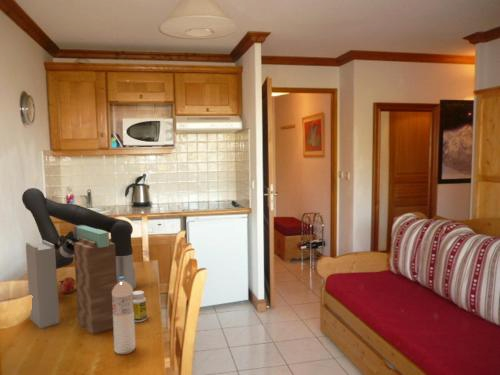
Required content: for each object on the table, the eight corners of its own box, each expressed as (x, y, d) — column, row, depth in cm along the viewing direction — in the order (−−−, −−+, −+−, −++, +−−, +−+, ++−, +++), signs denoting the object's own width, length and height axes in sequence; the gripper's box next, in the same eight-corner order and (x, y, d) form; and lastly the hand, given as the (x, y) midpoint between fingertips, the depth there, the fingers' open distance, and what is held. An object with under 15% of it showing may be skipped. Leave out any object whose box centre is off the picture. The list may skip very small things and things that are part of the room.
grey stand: (30, 319, 165) (25, 242, 162) (49, 314, 170) (44, 240, 167) (40, 328, 156) (35, 247, 154) (59, 323, 161) (54, 244, 158)
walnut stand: (78, 323, 160) (73, 238, 157) (103, 316, 167) (99, 234, 164) (93, 334, 150) (88, 244, 147) (119, 326, 157) (114, 239, 154)
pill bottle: (142, 323, 159) (141, 295, 158) (127, 322, 160) (126, 294, 159) (149, 317, 165) (148, 290, 164) (135, 316, 166) (134, 289, 166)
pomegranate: (71, 293, 202) (53, 284, 197) (80, 280, 204) (62, 271, 198) (74, 299, 196) (55, 290, 191) (83, 286, 197) (65, 277, 192)
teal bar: (74, 238, 165) (73, 226, 165) (83, 237, 168) (82, 224, 167) (99, 247, 148) (98, 234, 148) (109, 246, 150) (108, 232, 150)
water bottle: (117, 345, 141) (113, 274, 139) (137, 344, 141) (134, 273, 139) (112, 355, 134) (108, 280, 132) (133, 354, 135) (130, 279, 132)
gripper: (51, 240, 169) (62, 225, 159) (86, 235, 179) (98, 220, 168) (55, 257, 167) (66, 243, 156) (90, 251, 177) (103, 237, 166)
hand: (83, 231), depth 162 cm, fingers open, 8 cm apart
